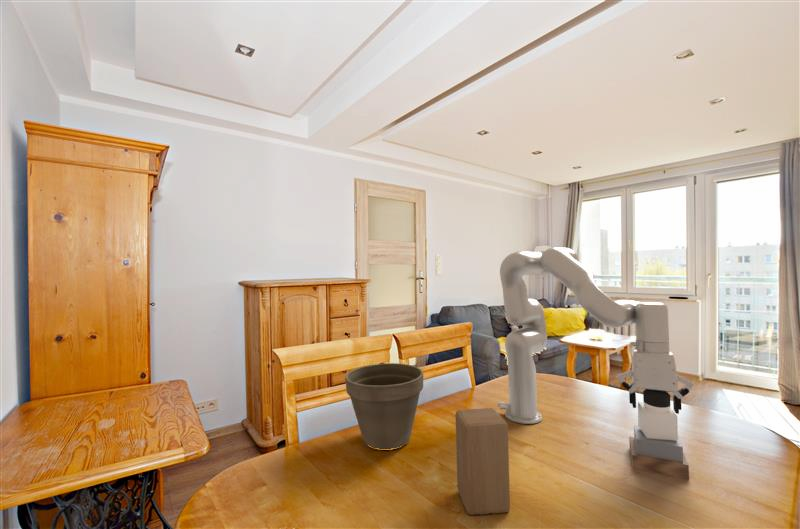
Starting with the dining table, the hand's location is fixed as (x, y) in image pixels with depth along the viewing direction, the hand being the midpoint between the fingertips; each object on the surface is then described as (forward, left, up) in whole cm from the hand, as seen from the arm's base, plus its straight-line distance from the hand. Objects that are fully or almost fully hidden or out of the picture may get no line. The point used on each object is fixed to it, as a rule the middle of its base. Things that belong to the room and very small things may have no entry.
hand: (654, 409), depth 102 cm
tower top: (0, -1, -11) cm, 11 cm away
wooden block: (-38, -38, -14) cm, 56 cm away
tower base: (0, -1, -15) cm, 15 cm away
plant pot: (-74, -21, -14) cm, 78 cm away
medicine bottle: (0, 0, -7) cm, 7 cm away
